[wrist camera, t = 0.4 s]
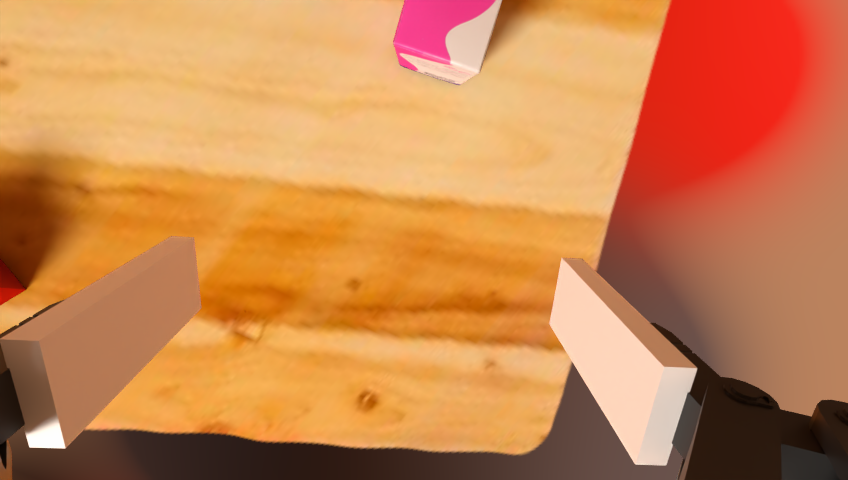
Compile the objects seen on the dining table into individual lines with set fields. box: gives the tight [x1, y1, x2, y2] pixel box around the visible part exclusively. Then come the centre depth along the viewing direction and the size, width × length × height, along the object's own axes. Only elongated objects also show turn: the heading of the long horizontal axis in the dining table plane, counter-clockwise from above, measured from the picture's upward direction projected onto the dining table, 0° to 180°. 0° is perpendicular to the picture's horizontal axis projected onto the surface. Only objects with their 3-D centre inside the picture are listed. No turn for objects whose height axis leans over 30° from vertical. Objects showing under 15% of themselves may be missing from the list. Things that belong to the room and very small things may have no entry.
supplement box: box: [393, 0, 502, 85], centre depth 31 cm, size 6×6×12 cm
